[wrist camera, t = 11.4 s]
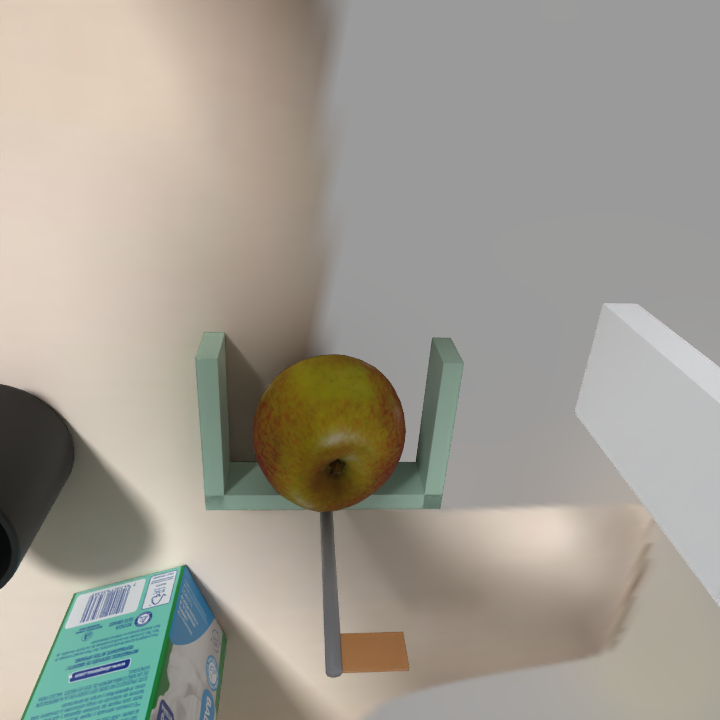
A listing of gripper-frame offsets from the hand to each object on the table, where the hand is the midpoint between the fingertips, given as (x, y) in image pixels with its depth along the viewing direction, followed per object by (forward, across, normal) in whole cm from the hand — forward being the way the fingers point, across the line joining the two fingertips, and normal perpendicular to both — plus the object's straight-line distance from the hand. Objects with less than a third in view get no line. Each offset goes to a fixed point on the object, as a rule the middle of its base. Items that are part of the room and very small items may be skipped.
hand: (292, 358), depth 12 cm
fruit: (+23, +2, -15) cm, 27 cm away
